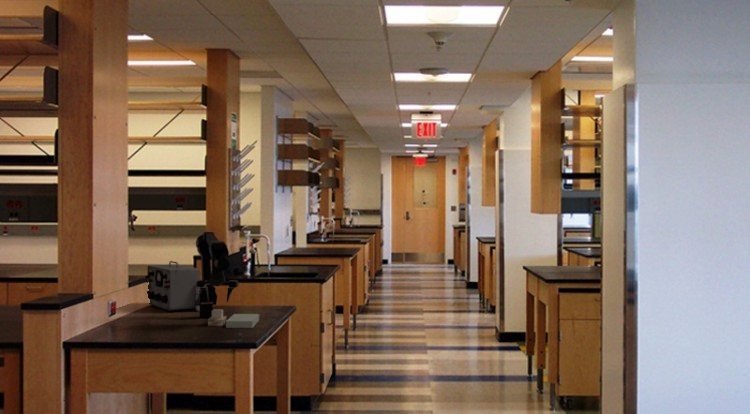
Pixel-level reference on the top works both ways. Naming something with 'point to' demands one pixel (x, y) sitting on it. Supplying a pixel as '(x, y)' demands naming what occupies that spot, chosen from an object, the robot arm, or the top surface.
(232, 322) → the dock
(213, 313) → the box
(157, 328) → the top surface
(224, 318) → the tall tan box
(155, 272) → the vintage electronic device
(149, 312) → the top surface
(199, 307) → the supplement can
